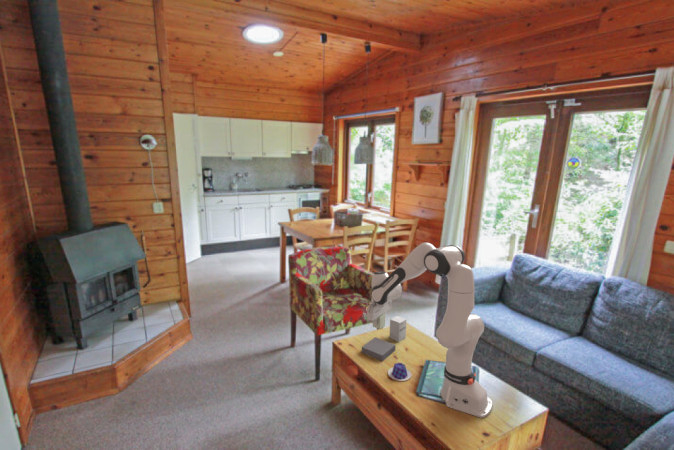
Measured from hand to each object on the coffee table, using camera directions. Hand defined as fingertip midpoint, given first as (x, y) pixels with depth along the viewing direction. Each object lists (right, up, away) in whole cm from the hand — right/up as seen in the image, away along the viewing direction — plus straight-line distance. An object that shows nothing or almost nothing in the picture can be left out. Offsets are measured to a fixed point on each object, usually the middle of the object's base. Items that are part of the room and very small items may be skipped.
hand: (378, 322), depth 196 cm
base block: (0, -19, +4) cm, 19 cm away
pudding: (+9, -23, -17) cm, 30 cm away
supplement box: (+14, -15, +18) cm, 27 cm away
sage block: (0, -3, +1) cm, 3 cm away
